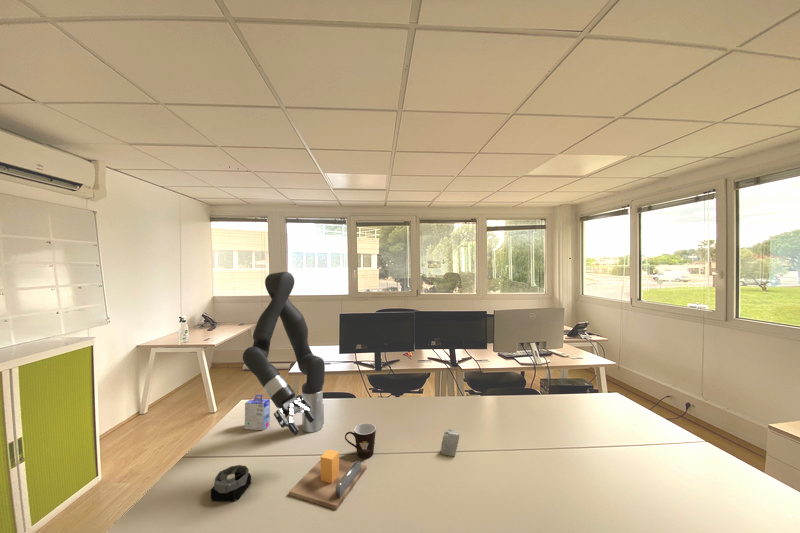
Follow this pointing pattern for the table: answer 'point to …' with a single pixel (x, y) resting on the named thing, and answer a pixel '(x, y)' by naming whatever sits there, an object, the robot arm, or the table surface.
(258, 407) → the ink cartridge box
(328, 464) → the orange rectangular prism
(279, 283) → the robot arm
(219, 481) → the cpu cooler
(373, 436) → the coffee mug
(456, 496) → the table surface
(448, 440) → the mineral specimen
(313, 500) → the plate
